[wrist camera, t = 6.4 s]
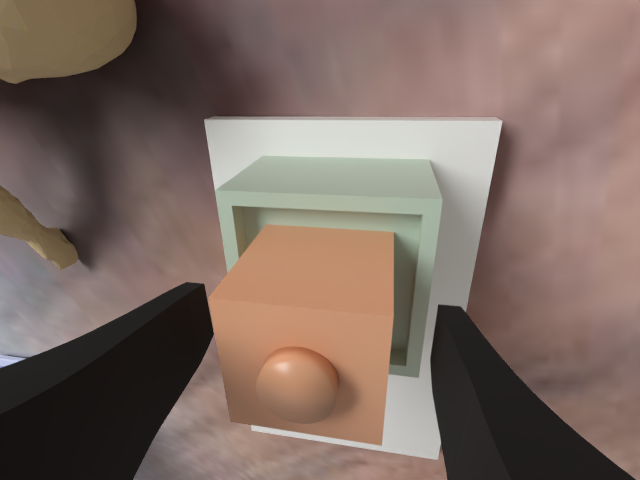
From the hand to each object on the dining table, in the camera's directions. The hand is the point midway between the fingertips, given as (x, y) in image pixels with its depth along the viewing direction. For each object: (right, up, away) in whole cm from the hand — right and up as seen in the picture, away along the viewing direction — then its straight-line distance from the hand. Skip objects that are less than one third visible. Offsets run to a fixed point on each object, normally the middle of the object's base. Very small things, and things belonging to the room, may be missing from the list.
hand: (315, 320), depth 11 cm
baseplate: (+1, -1, +9) cm, 9 cm away
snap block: (0, +1, +2) cm, 2 cm away
